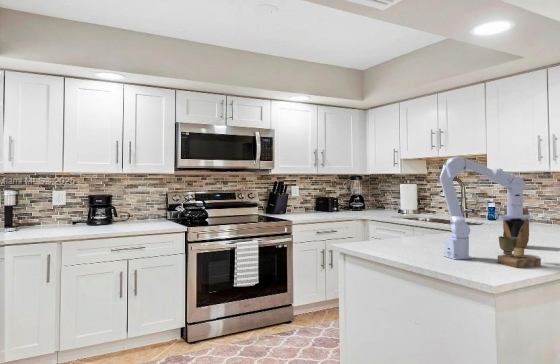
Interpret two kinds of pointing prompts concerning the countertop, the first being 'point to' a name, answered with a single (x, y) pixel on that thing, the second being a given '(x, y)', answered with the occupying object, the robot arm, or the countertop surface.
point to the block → (523, 233)
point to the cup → (507, 244)
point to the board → (519, 261)
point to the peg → (519, 253)
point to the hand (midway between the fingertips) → (514, 236)
